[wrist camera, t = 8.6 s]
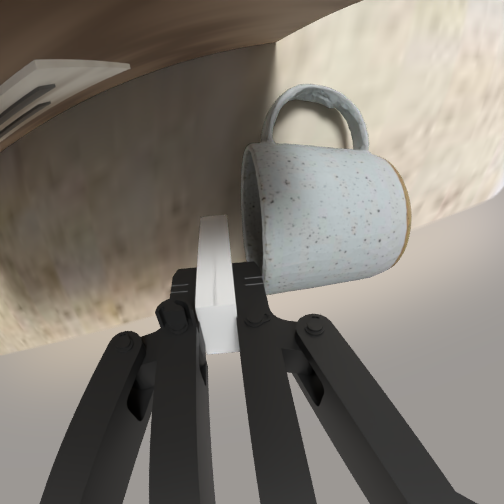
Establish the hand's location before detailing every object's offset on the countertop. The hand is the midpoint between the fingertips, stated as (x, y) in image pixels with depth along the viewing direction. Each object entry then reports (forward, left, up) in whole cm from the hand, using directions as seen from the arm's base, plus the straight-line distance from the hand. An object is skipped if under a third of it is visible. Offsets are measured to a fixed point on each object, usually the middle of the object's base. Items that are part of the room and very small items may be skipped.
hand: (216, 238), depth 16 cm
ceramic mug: (+6, +1, -4) cm, 7 cm away
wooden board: (-6, +10, -4) cm, 12 cm away
